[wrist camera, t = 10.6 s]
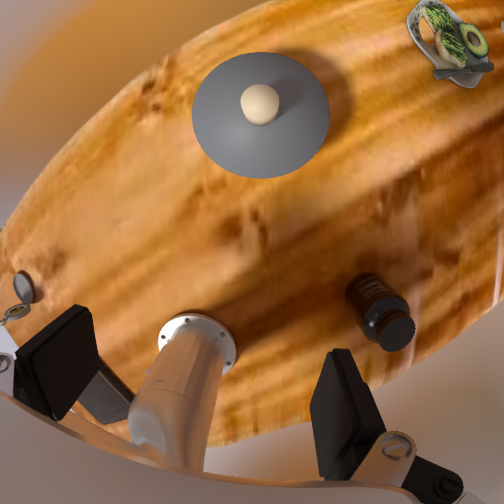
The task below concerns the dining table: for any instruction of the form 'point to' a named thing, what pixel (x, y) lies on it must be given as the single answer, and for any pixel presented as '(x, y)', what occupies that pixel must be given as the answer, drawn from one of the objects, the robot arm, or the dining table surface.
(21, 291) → the pocket watch
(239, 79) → the lid
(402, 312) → the supplement bottle
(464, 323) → the dining table surface
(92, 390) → the hardcover book
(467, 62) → the salad plate
